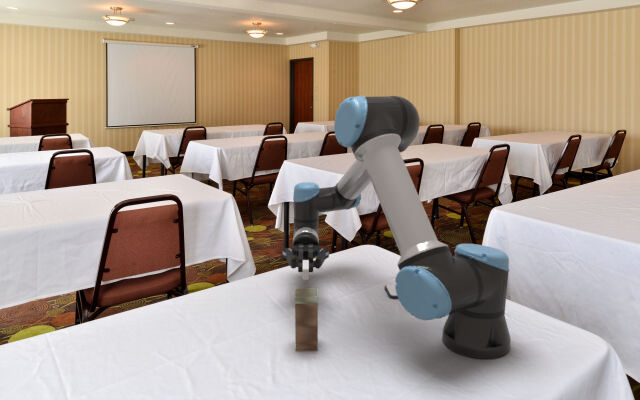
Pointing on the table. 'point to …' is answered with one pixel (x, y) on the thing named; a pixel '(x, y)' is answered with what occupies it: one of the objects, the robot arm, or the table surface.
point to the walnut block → (306, 319)
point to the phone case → (391, 291)
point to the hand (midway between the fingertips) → (305, 274)
